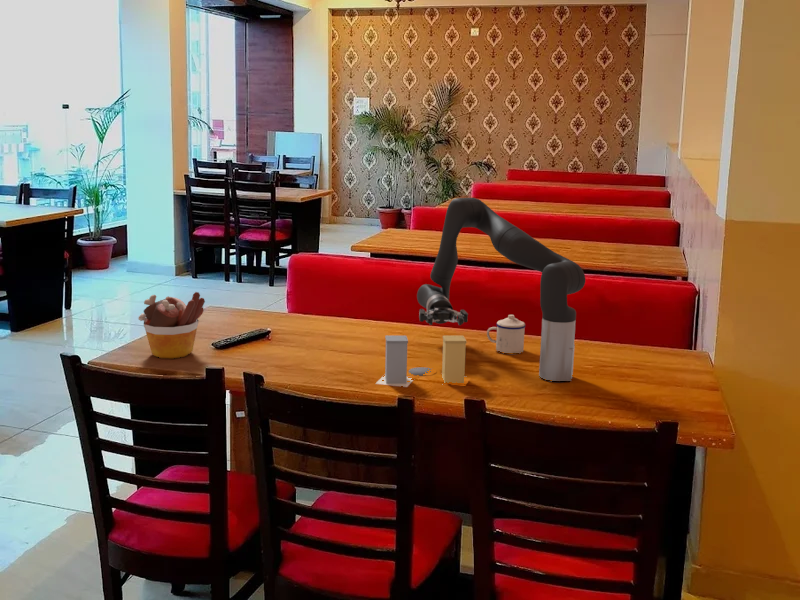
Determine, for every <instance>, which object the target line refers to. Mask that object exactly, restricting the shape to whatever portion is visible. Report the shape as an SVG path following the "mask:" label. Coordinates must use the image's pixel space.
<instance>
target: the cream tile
mask: <svg viewBox="0 0 800 600" xmlns="http://www.w3.org/2000/svg"><path fill="white" fill-rule="evenodd" d="M383 376H384V375H383ZM383 376H381V378H379V379H378V380H377V381H376V383H375V385H382V386H383V385H384V386H393V387H401V386H403V387H402V388H408V387H409V386H410V384H412V382H413V381H414V380H411V379H412V378H408V377H409V376H407V380H406V384H386V379H385V376H384V377H383ZM382 380H384V381H382ZM407 381H410V382H407Z"/></svg>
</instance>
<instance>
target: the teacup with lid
mask: <svg viewBox="0 0 800 600" xmlns="http://www.w3.org/2000/svg"><path fill="white" fill-rule="evenodd" d="M525 328H526V323H525V322H524V321H521V320H519V319H518V318H516V317H515V315H514V314H508V315H507V317H505V318H504V319H500V320H498V321H497V322H496V326H492V327H488V329H487V330H486V337H487V339H488V340H489V341H490V342H491V343H493V344H496V345H495V350H496V352H498V351H500V352H504V353H519V354H521V352H522V353H523V352H524V343H525ZM492 330H495V331H496V339H493V338H492V337H491V335H490V331H492ZM500 352H499V353H500ZM504 353H503V354H504Z"/></svg>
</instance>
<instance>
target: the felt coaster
mask: <svg viewBox="0 0 800 600" xmlns="http://www.w3.org/2000/svg"><path fill="white" fill-rule="evenodd" d="M430 368H431V367H430ZM430 368H429V367H424V366H423V367H422V366H421V367H418V366H417V367H412V368H410V369H409V370H408V374H410V373H411V374H410V375H412V374H413V375H412V376H417V375H419V376H420V377H424V376H423V374H425V372H426V373H428V372H427V371H429V370H431V369H432V368H431V369H430ZM428 369H429V370H428ZM430 372H431V371H430ZM419 376H418V377H419Z"/></svg>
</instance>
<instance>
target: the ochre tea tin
mask: <svg viewBox="0 0 800 600" xmlns="http://www.w3.org/2000/svg"><path fill="white" fill-rule="evenodd" d="M466 345H467V339H466V337H465V336H464V335H442V360H441V361H442V363H441V364H442V366H441V367H442V368H441V374H442V378H443V380H444V383H446V382H447V383H449V382H452V383H456V382H457V383H464V377H465V373H466V372H465V371H466V370H465V368H466V349H467V347H466Z"/></svg>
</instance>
